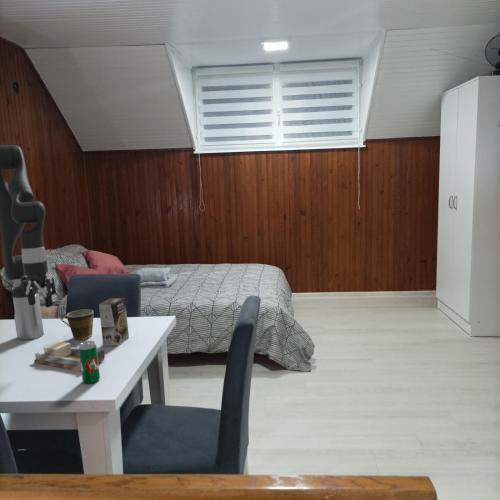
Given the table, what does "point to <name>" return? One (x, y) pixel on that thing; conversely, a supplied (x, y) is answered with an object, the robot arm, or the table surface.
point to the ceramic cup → (80, 323)
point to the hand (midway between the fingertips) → (40, 305)
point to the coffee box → (113, 321)
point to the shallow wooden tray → (65, 359)
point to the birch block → (58, 349)
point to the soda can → (89, 362)
